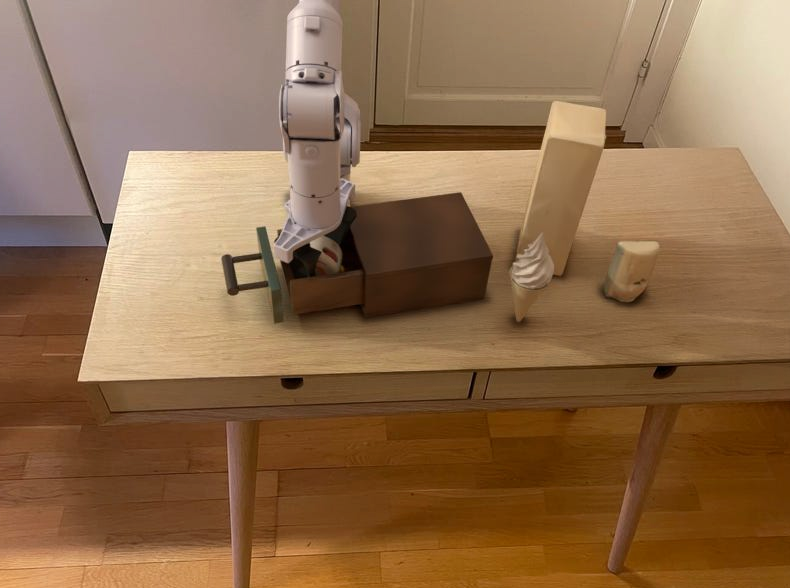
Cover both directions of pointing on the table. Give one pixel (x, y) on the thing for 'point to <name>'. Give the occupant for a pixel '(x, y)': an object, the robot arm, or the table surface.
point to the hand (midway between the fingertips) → (317, 269)
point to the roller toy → (327, 256)
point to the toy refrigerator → (563, 178)
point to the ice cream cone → (530, 276)
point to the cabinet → (420, 253)
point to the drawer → (301, 280)
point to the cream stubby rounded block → (630, 269)
